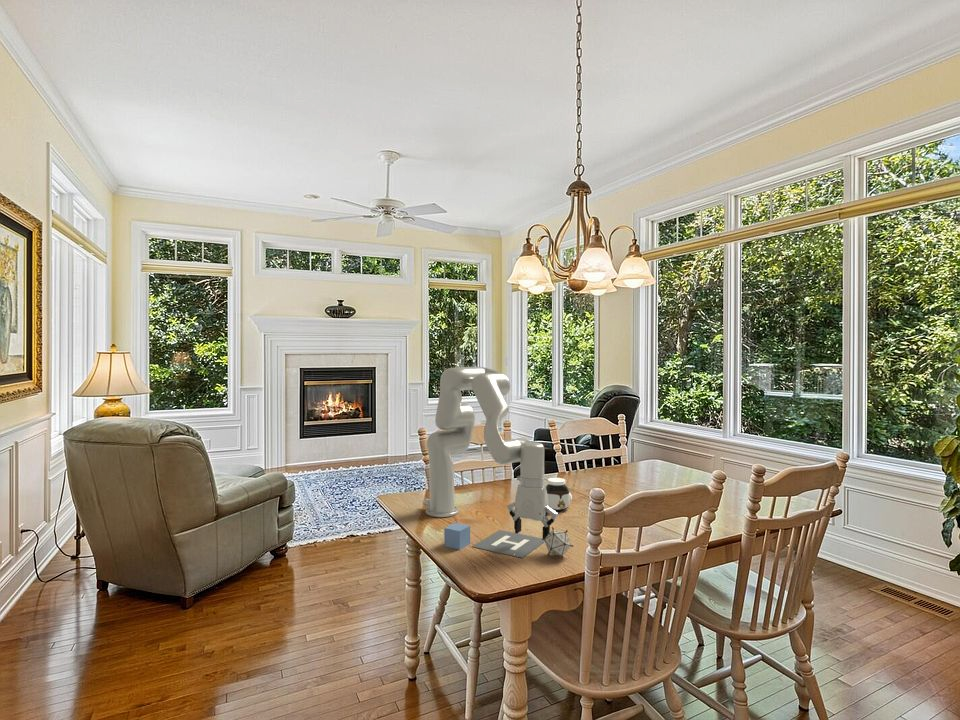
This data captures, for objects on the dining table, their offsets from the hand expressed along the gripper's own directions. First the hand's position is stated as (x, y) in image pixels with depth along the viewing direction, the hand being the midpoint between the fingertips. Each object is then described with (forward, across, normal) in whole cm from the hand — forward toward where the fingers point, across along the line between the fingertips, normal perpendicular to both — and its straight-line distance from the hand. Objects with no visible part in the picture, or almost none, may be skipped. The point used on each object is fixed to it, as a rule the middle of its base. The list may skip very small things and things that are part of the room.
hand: (531, 535), depth 168 cm
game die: (+3, +8, -1) cm, 8 cm away
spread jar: (+5, -9, +44) cm, 45 cm away
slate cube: (+4, -22, -10) cm, 24 cm away
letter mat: (+4, -8, 0) cm, 9 cm away
